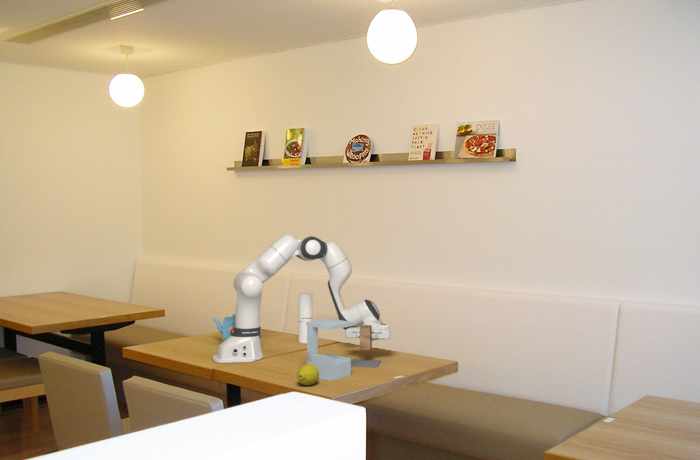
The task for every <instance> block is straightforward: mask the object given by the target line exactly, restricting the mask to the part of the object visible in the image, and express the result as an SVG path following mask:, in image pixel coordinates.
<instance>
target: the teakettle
mask: <svg viewBox="0 0 700 460" xmlns="http://www.w3.org/2000/svg"><path fill="white" fill-rule="evenodd" d="M210 319H211V320H212V321H214V322H215V324H216V326H217V330H218V332H219V333H220V334H221V335H222V342H224V341H225V340H226V339H227V338H229V337H230V336H231V332H230V331H229V328H230V327H232V328H234V327H235V314H232V316H225V317H224V318H223V320H222V325H221V322H220V320H219V318H217V317H213V318H212V317H211V318H210Z"/></svg>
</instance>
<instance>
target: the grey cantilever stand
mask: <svg viewBox="0 0 700 460" xmlns="http://www.w3.org/2000/svg"><path fill="white" fill-rule="evenodd" d="M306 326H307V343H306V364H313V365H315V366H316V367H317V368H318V370H319V378H318V379H320V380H325V381H328V382H329V381H330V382H332V381H336V380H339V379H343V378H346V377H350V376H351V374H352V366H351V362H352V358H351V357H346V356H342V355H337V354H332V353H325V355H323V354H319V353H318V348H319V347H318V343H319V341H318V340H319V338H318V337H319V336H318V333H319V332H318V331H319V330H318V329H319V328H320V329H324V330H325V329H326V330H331V331H332V330H333V331H334V330H338V329H343V328H344V327H350V326H354V322H349V321H342V320H339V319H335V318H334V319H333V318H323V319H318V320H312V321H310V322H306Z"/></svg>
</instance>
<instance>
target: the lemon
mask: <svg viewBox="0 0 700 460" xmlns="http://www.w3.org/2000/svg"><path fill="white" fill-rule="evenodd" d="M296 378H297V381H298V382H299V383H300V384H302V385H303V386H311V385H314V384H316V382H317V381H318V380H319V379H320V378H319V370H318V368H317V367H316V366H315V365H313V364H307V363H306V364H303V365H301V366H300V367H299V368H298V369H297V373H296Z"/></svg>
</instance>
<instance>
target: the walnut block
mask: <svg viewBox="0 0 700 460" xmlns="http://www.w3.org/2000/svg"><path fill="white" fill-rule="evenodd" d="M359 328H360V338H359V350H361V351H362V350H366V351H367V350H368V351H369V350H370V351H371V350H372V348H373V346H372V345H373V344H372V343H373V341H372V338H371V334H372V325H363V324H362V325H360V326H359Z"/></svg>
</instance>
